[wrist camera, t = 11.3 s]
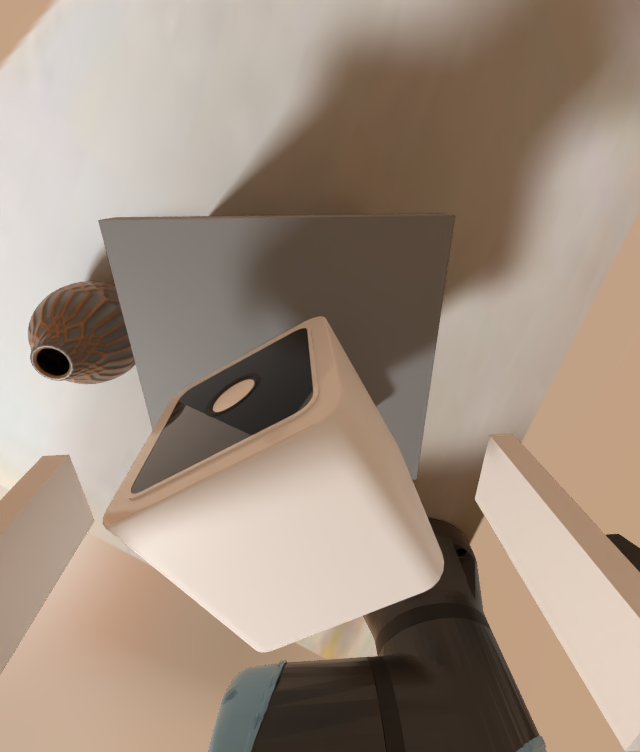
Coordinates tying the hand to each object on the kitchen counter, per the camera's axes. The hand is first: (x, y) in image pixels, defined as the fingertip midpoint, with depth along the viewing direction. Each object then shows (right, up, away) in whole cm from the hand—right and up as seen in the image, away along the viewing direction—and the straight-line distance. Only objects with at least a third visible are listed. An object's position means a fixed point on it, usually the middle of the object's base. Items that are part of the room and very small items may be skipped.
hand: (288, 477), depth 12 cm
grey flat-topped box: (-1, +9, +18) cm, 20 cm away
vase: (-15, +8, +18) cm, 25 cm away
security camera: (0, +3, +6) cm, 7 cm away
